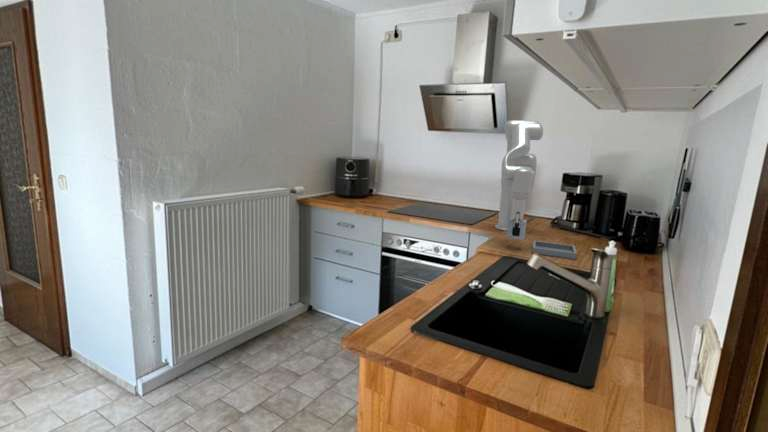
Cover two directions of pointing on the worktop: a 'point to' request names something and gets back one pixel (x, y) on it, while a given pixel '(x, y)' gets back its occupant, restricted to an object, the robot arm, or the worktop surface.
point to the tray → (555, 250)
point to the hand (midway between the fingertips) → (515, 233)
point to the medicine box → (510, 229)
